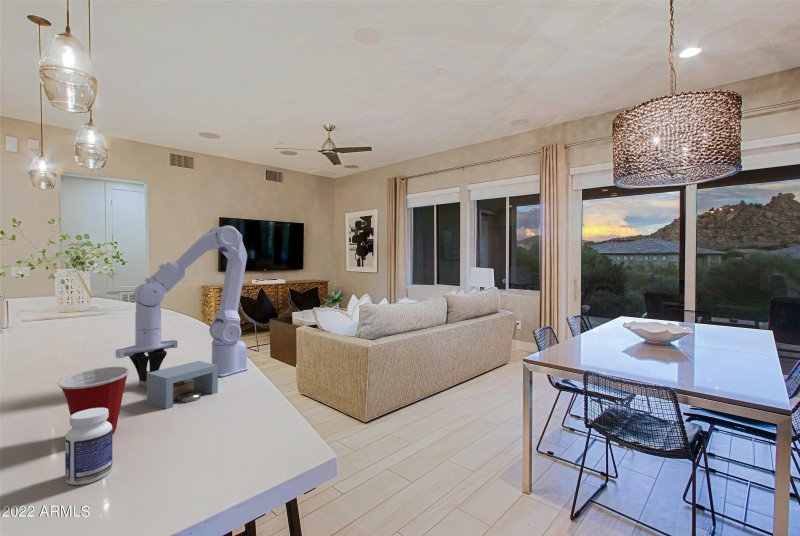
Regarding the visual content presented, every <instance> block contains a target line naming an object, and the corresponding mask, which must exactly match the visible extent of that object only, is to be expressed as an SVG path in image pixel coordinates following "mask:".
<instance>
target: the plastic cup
mask: <svg viewBox="0 0 800 536" xmlns="http://www.w3.org/2000/svg"><path fill="white" fill-rule="evenodd" d="M129 374H130V368H129V367H127V366H120V365H119V366H118V365H117V366H103V367H99V368H98V367H97V368H93V369H88V370H84V371H80V372H77V373H74V374H71V375H68V376H66V377H64V378H62V379H60V380H59V381H58V382H57V386H58V387H59V389H61V390H62V393H64V394H63V395H64V397H65V398H66V402H67V406H68V411H69V414H70V415H69V416H71V415H73V414H74V413H77V412H80V411H83V410H87V409H92V408H107V409H108V413H109V417H108V418H107V419H106V421H107V422H109V423H111V425H112V436H113V435H114V434H115V433H116V429H117V427H118V421H119V416H120V413H121V408H122V401H123V397H124V391H125V386H126V381H127V377H128V375H129Z"/></svg>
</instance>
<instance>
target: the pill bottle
mask: <svg viewBox="0 0 800 536" xmlns="http://www.w3.org/2000/svg"><path fill="white" fill-rule="evenodd" d="M69 416H70V415H69ZM108 417H109V413H108V409H107V408H92V409H87V410H83V411H80V412H77V413H74V414H73V415H71V416H70V417H69V426H71V428H69V430H67V432H66V434H65V437H64V439H65V442H64V443H65V445H64V448H65V452H64V456H65V458H64V459H65V460H64V462H65V465H64V467H65V468H64V470H65V471H64V472H65V473H64V475H65V476H64V477H65V478H64V479H65V482H66V483H67V484H68V485H71V486H82V485H87V484H90V483H93V482H96V481H99V480H101V479H103V478H104V477H107V476H108V474H110V473H111V472H112V470H113V435H112V425H111V423H109V422H107V421H106V419H107V418H108Z"/></svg>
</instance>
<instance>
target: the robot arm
mask: <svg viewBox="0 0 800 536" xmlns="http://www.w3.org/2000/svg"><path fill="white" fill-rule="evenodd" d="M212 250H218V251H220V252H221V253H222V255H224V256H225V257H226V259H227V261H226V262H227V263H226V268H225V275H224V281H223V285H222V291H221V297H220V303H219V308H218V311H217V312H216V313H215V314H214V319H213V321H212V323H211V324H210V326H209V329H208V330H209V334H210V336H211V338H213V339H212V342H211V364H215V365H218V377H221V378H222V377H223V378H224V377H226V376H230V375H233V374H237V373H241V372H244V371H247V370H249V367H247V363H248V362H247V359H248V353H247V352H248V351H247V350H248V348H247V345H246V343H245V341H242V340H239V339H240V338H241V335H242V328H241V318H240V315H239V312H238V311H239V306H240V301H241V295H242V289H243V282H244V277H245V271H246V267H247V266H246V265H247V260H248V253H247V250H246V247H245V245H244V242H243V234H241V233H240V232H239V230H238V229H237V228H236V227H234V226H232V225H223V226H216V227H212V228H211V229H210V230H209V231H208V232H206V233H204V234H203V235H202V236H200V237H199V238H198V239H197V240H196V241H195V242H194V243H193V244H192V245H191V246H190V247H189V248H188V249H187V250H186V251H184V253H183V254H182V255H181V256H180V257H179V258H178V259H176V260H175V261H167V262H165V264H164V263H161V264H160V265H158V268H159V269H158V270H157V271H156V272H155V273H154V274H153V275H151V276H150V277H145V279H144V282H146V283H141V284H139V285H138V286H137V287H136V288H135V289H134V292H133V294H132V298H133V300H134V301H135V315H134V316H135V317H134V318H135V319H134V320H135V322H134V324H135V326H134V329H135V333H134V335H135V337H134V338H135V339H134V342H135V345H132V346H131V345H130V346H128V347H123V348H120V349H119V348H118V349H115V358H117V359H124V358H126V357H128V358H129V359H130V361H131V362H132V364H133V366H134V367H135V369H136V371H137V372H136V373H137V375H138V381H139V380H140V381H143V382H144V381H146V380H147V371H148V366H149V372H153V371H158V370H160V368H161V365H162V363H163V361H164V359H165V358H166V356H168V355H167V354H168V353H167V350H168V349H177V348H178V340H175V339H172V340H171V339H170V340H165V341H164V340H163V341H162V311H161V309H162V307H161V303H162V302H163V301H164V300H165V299H164V298H165V295H166V294H167V293H168V292H169V291H171V290H172V289H173V288H174V287H175V286H176V285H177V284H178V283H179V282H180V281H181V280H182V279H183V278H185V276H186V274H185V273H186V269H188V267H190V266H191V265H192V264H194V263H195V261H197V260H198V259H200V258H201V257H202V256H203V255H204V254H205V253H207V252H208V251H212ZM148 364H149V365H148Z"/></svg>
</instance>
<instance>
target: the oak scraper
mask: <svg viewBox="0 0 800 536" xmlns="http://www.w3.org/2000/svg"><path fill="white" fill-rule="evenodd" d="M147 373H149V371H148V370H147ZM138 386H139V387H141V388H145V389H147V380H146V381H144V382H143V381H140V380H139V379H138ZM190 391H195V389H194V382H193V380H192V381H188V382H185V380H183V381H179V382H175V383H173V401H174V399H175V400H177V396H178V395H179V394H181V393H184V392H190Z"/></svg>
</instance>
